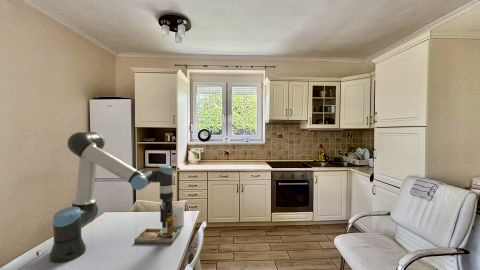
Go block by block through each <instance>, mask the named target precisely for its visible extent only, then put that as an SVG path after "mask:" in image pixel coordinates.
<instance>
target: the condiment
mask: <svg viewBox="0 0 480 270" xmlns="http://www.w3.org/2000/svg"><path fill="white" fill-rule="evenodd" d="M166 221H167V233H162V231H160V233H161V234H162V236H163V237H165V236H169V235H172V234H176V233H175V232H174V231H173V229H174V227H173V218H172V213H170V212H167V220H166Z"/></svg>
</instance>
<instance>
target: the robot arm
mask: <svg viewBox="0 0 480 270" xmlns="http://www.w3.org/2000/svg"><path fill="white" fill-rule="evenodd" d="M105 145H106V141H105V137H104V136H103V135H102V134H101V133H98V132H96V131H83V132H82V131H78V132H74V133H73V134H71V135H70V136H69V138H68V139H67V145H66V146H67V149H69V151H70V152H72V154H74V155H75V156H77V157H79V159H78V161H79V162H78V171H77V172H78V173H77V183H76V195H75V199H74V200H73V201H72V202H71V206H69V207H65V208H62V209H60V210H58V211H57V212H56V213H54V215H53V217H52V218H53V219H52V228H53V229H52V230H53V231H52V232H53V245H52V248H51V251H50V254H49V261H50V262H52V263H64V262H65V263H66V262H68V261H72V260H75V259H77V258H79V257H81V256H82V255H83V254H85V253H86V250H87V248H86V247H87V246H86V244H85V242H84V240H83V237H82V228H83V227H85V226H86V225H87V224H89V223H90V222H92V221H93V220H95V218H96V217H97V216H98V213H99V212H100V208H99V205H98V204H97V199H96V198H94V195H95V185H96V184H95V183H96V172H97V166H99V167H101V169H102V168H103V169H104V170H106V171H108V172H110V173H111V174H113V175H115V176H116V177H118V178H121V179H122V180H124V181H125V182H127V183H130V186H131V188H132V189H134V190H136V191H140V190H143V189H145V188H146V187H147V186H149V185H150V184H152V183H156V184H157V183H159V199H160V200H162V202H161V205H160V206H159V209H160V210H159V211H160V215H159V217H160V219H159V221H160V223H162V224H161V229H162V233H167V221H166V220H167V212H170V213H172V214H173V210H172V208H173V197H174V192H173V191H174V190H173V189H174V185H173V183H174V181H173V178H174V177H173V176H174V174H173V167H172V166H171V165H161V166H159V169H141V170H138V169H136V168H135V167H132V166H131V165H129V164H128V163H125V162H124V161H122V160H120V159H119V158H118V157H115V156H114V155H112V154H111V153H108V152H107V151H105V150H103V149H104V147H105ZM172 216H173V215H172Z"/></svg>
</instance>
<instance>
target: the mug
mask: <svg viewBox="0 0 480 270" xmlns="http://www.w3.org/2000/svg"><path fill="white" fill-rule="evenodd" d="M172 210H173V214H172V215H173V216H172V218H173V229H179V228H181V227H182V226H183V225H184V224H185V211H184V210H185V208H183V207H182V206H177V207H176V206H175V207H172Z"/></svg>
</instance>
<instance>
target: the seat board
mask: <svg viewBox="0 0 480 270" xmlns="http://www.w3.org/2000/svg"><path fill="white" fill-rule="evenodd" d="M160 231H162V228H145V229H144V230H143V231H142V232H141V233H139V235H137V236H136V237H135V238H134V244H146V245H147V244H148V245H149V244H150V245H151V244H154V245H172V244H173V243H174V242H175V240H176V239H177V238H178V237H179V235H180V233H181V228H173V231H174V232H175V233H176V234H172V235H169V236H165V237H163V236H162V234H161V233H160Z"/></svg>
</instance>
